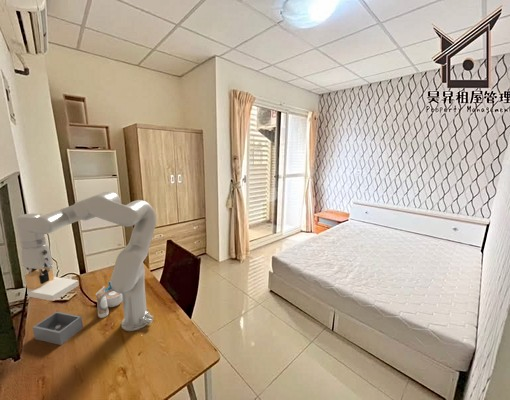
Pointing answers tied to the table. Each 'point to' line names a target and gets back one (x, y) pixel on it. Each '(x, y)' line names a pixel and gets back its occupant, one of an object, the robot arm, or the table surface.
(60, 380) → the table surface
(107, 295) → the cosmetic set
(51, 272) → the lid
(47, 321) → the tub
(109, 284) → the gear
